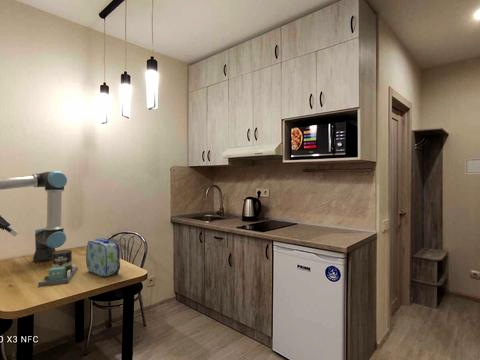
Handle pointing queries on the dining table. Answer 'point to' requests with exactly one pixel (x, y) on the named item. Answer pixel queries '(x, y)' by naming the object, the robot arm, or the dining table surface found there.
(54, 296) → the dining table surface
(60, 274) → the teal box
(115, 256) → the lunch box
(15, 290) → the dining table surface
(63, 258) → the coffee can
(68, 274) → the rack
